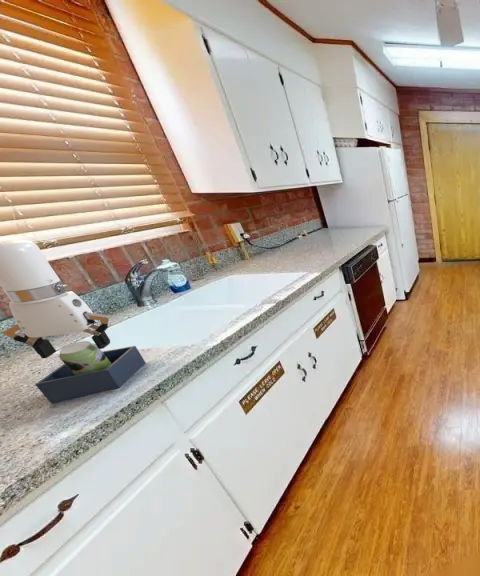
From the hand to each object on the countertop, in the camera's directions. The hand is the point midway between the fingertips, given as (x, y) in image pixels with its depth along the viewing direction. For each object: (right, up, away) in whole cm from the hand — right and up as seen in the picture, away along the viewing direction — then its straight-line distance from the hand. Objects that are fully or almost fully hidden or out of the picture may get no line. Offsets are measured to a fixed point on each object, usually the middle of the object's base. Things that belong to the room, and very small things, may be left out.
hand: (78, 350), depth 78 cm
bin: (0, -10, +5) cm, 11 cm away
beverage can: (0, -10, +4) cm, 11 cm away
